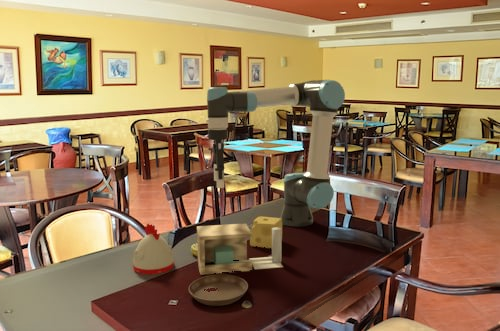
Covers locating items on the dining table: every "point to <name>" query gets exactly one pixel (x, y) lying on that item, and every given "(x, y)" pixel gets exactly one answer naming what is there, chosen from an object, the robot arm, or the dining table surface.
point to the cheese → (264, 231)
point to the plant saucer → (226, 284)
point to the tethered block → (226, 257)
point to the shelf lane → (222, 237)
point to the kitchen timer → (152, 253)
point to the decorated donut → (194, 249)
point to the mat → (265, 264)
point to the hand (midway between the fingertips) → (218, 184)
